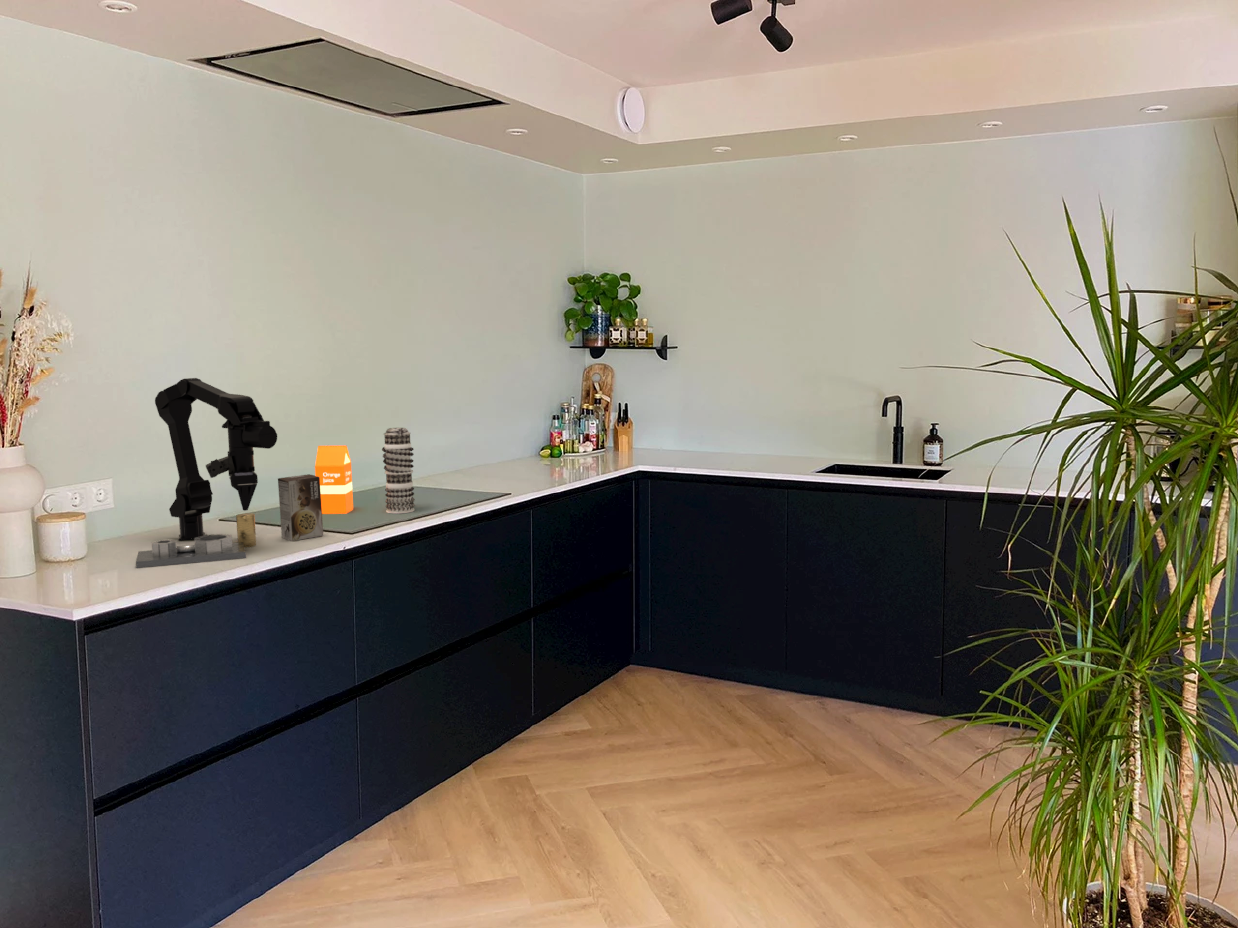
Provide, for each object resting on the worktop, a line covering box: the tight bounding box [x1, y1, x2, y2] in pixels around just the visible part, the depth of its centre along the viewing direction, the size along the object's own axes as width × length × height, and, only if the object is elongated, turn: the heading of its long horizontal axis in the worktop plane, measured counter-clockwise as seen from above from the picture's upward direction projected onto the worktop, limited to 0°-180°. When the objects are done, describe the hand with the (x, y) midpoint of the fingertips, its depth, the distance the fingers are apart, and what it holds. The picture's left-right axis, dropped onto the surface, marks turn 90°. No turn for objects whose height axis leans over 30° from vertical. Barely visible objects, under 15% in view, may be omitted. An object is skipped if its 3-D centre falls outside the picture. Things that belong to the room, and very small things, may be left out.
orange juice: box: [314, 445, 354, 515], centre depth 306 cm, size 8×9×20 cm
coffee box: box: [277, 473, 324, 542], centre depth 269 cm, size 9×6×16 cm
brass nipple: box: [235, 512, 257, 548], centre depth 260 cm, size 4×4×8 cm
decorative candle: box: [381, 427, 416, 515], centre depth 305 cm, size 9×9×25 cm
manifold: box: [135, 533, 247, 569], centre depth 247 cm, size 12×24×4 cm, turn 113°
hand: (244, 507), depth 259 cm, fingers open, 9 cm apart
